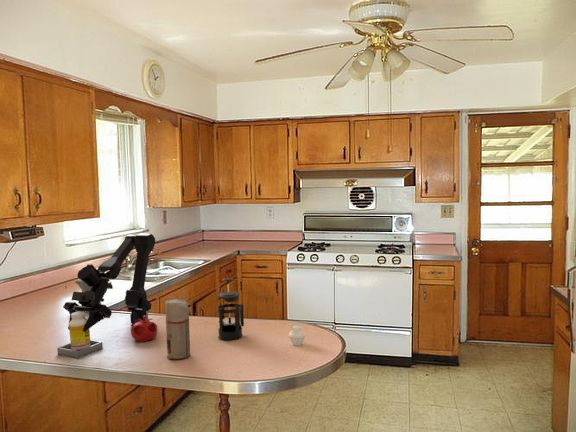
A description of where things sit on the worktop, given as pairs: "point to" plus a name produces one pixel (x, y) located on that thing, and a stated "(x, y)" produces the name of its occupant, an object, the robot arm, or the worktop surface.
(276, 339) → the worktop surface
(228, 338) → the french press
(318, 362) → the worktop surface
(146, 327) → the red ball with holes
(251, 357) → the worktop surface
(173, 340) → the spray can
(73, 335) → the supplement bottle
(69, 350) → the tray
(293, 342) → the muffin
